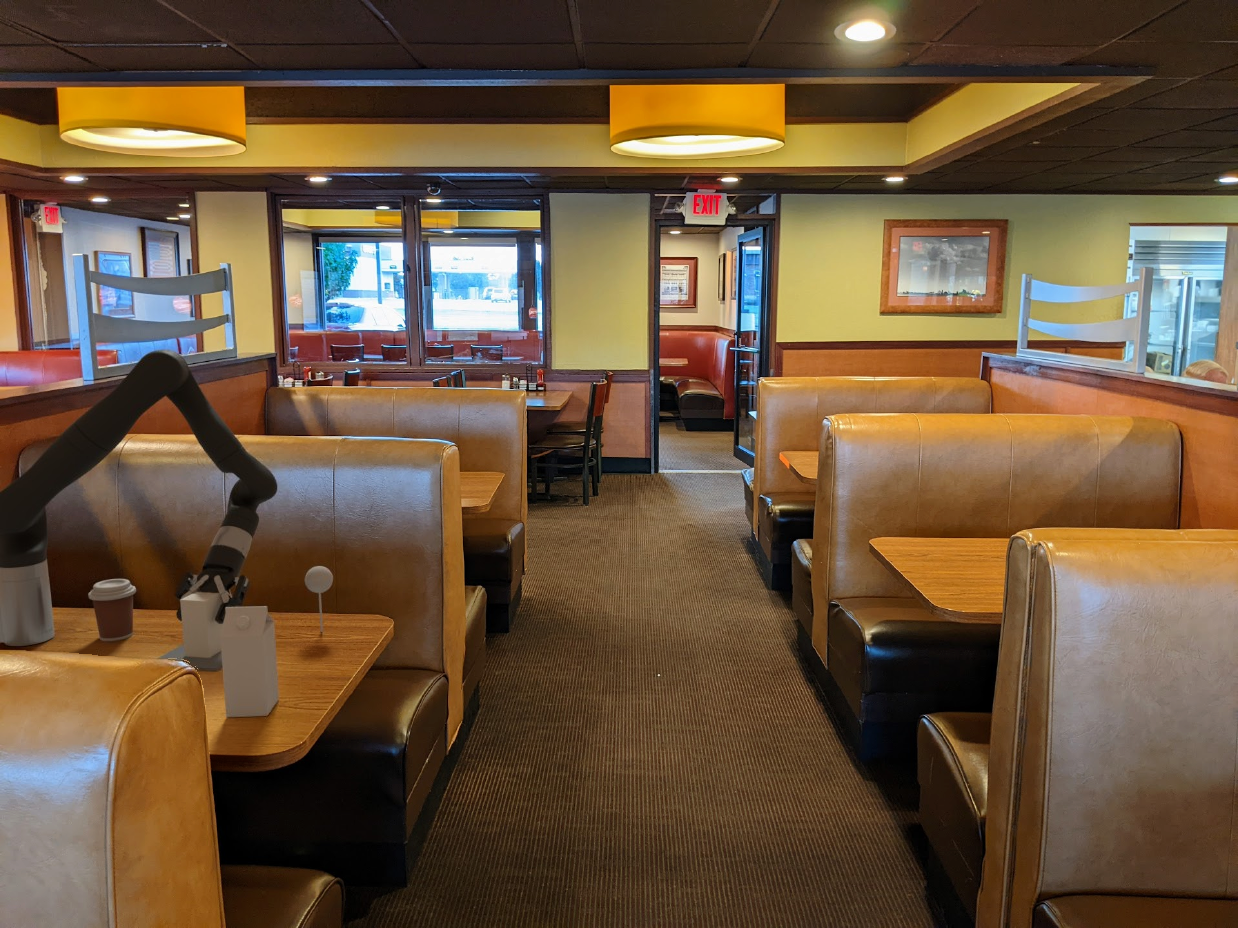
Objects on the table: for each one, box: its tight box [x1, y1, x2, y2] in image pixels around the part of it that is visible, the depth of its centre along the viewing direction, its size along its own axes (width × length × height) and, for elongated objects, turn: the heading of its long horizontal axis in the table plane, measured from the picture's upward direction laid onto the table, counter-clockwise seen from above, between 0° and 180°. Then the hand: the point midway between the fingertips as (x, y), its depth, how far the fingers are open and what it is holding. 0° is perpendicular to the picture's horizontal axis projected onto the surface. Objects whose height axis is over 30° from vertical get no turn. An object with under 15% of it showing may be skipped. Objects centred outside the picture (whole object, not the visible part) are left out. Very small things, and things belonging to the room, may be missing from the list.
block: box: [179, 591, 223, 658], centre depth 187 cm, size 6×6×12 cm
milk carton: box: [220, 605, 280, 718], centre depth 161 cm, size 7×7×19 cm
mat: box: [157, 643, 223, 672], centre depth 188 cm, size 15×15×1 cm
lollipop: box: [304, 565, 334, 633], centre depth 200 cm, size 6×6×15 cm
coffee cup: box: [87, 578, 137, 642], centre depth 198 cm, size 9×9×12 cm
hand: (199, 620), depth 185 cm, fingers open, 8 cm apart
